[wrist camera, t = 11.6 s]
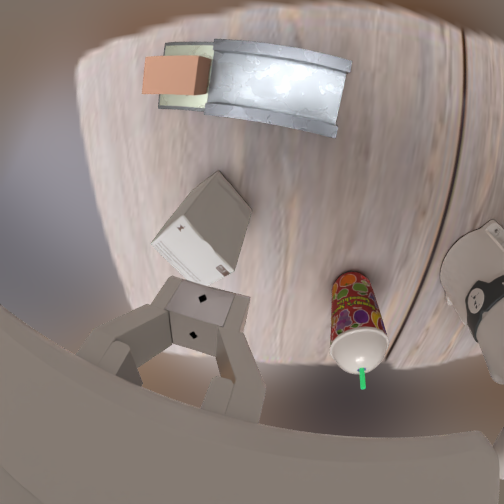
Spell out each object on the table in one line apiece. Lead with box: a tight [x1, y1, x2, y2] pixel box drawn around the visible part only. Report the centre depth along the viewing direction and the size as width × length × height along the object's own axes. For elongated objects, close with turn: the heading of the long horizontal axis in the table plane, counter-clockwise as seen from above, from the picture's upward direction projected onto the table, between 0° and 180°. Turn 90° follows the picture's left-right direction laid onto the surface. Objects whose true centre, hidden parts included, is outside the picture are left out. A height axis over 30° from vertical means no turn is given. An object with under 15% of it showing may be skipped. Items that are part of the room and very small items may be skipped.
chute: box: [158, 39, 352, 139], centre depth 29 cm, size 24×10×4 cm, turn 81°
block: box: [142, 55, 211, 95], centre depth 28 cm, size 7×5×4 cm
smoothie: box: [330, 272, 389, 389], centre depth 37 cm, size 8×8×20 cm
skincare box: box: [151, 171, 252, 286], centre depth 34 cm, size 8×6×15 cm
